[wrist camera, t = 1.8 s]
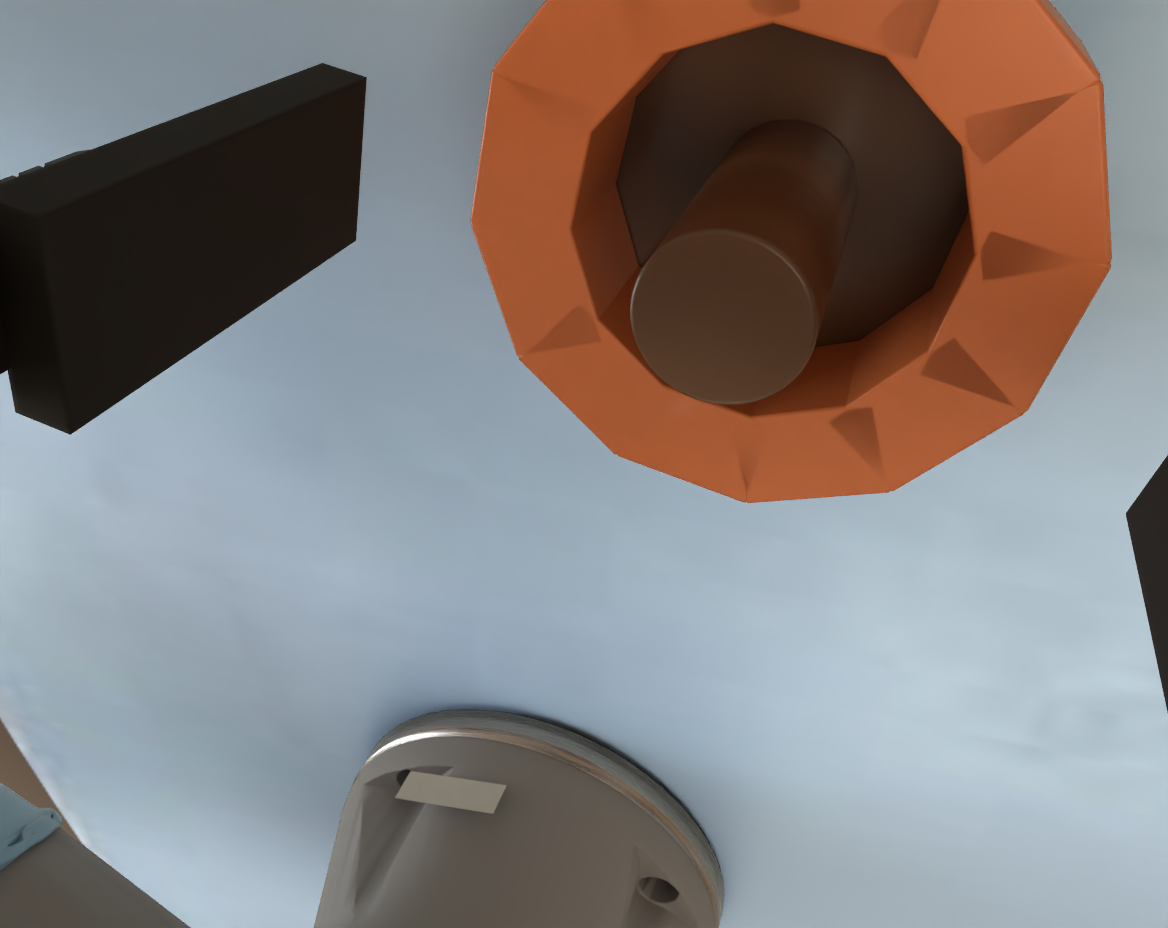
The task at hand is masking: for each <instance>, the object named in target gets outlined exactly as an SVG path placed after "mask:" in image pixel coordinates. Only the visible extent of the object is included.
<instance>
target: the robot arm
mask: <svg viewBox="0 0 1168 928" xmlns="http://www.w3.org/2000/svg"><path fill="white" fill-rule="evenodd" d="M366 78H367V77H364V76H361V75H358V74H355V73H352V72H348V71H345V70H342V69H339V68H336V67H333V66H330V65H327V64H324V63H321V64H319V65H316V66H313V67H311V68H308V69H305V70H303V71H300V72H297V73H295V74H292V75H289V76H287V77H284V78H281V79H279V80H276V81H273V82H271V83H268V84H265V85H263V86H260V87H257V88H255V89H252V90H249V91H247V92H244V93H241V94H239V95H236V96H233V97H231V98H228V99H225V100H223V101H220V102H217V103H215V104H212V105H209V106H207V107H204V108H201V109H199V110H196V111H193V112H191V113H188V114H185V115H183V116H180V117H177V118H175V119H172V120H169V121H167V122H164V123H161V124H159V125H156V126H153V127H151V128H148V129H145V130H143V131H140V132H137V133H135V134H132V135H129V136H127V137H124V138H121V139H119V140H116V141H113V142H111V143H108V144H105V145H103V146H100V147H97V148H95V149H92V150H85V151H78V152H74V153H72V154H69V155H66V156H64V157H61V158H58V159H56V160H53V161H50V162H47V163H45V166H44V168H43V167H41V166H37V167H34V168H31V169H29V170H26V171H23V172H21V173H19V176H18V177H15V176H10V177H7V178H4V179H2V180H0V374H1V373H3V372H5V371H7V370H8V374H9V380H10V385H11V390H12V396H13V401H14V406H15V412H16V413H18V414H21V415H23V416H26V417H28V418H31V419H33V420H36V421H38V422H41V423H43V424H46V425H48V426H50V427H53V428H55V429H58V430H60V431H63V432H65V433H68V434H70V435H71V434H72V433H74V432H75V431H76V430H78V429H79V428H81V427H82V426H84V425H85V424H87V423H88V422H90V421H91V420H93V419H94V418H96V417H97V416H99V415H100V414H101V413H103V412H104V411H106V410H107V409H109V408H110V407H112V406H113V405H115V404H116V403H118V402H119V401H121V400H122V399H124V398H125V397H126V396H128V395H129V394H131V393H132V392H134V391H135V390H137V389H138V388H140V387H141V386H143V385H144V384H146V383H147V382H149V381H150V380H151V379H153V378H154V377H156V376H157V375H159V374H160V373H162V372H163V371H165V370H166V369H168V368H169V367H171V366H172V365H174V364H175V363H176V362H178V361H179V360H181V359H182V358H184V357H185V356H187V355H188V354H190V353H191V352H193V351H194V350H196V349H197V348H199V347H200V346H201V345H203V344H204V343H206V342H207V341H209V340H210V339H212V338H213V337H215V336H216V335H218V334H219V333H221V332H222V331H224V330H225V329H226V328H228V327H229V326H231V325H232V324H234V323H235V322H237V321H238V320H240V319H241V318H243V317H244V316H246V315H247V314H249V313H250V312H251V311H253V310H254V309H256V308H257V307H259V306H260V305H262V304H263V303H265V302H266V301H268V300H269V299H271V298H272V297H274V296H275V295H276V294H278V293H279V292H281V291H282V290H284V289H285V288H287V287H288V286H290V285H291V284H293V283H294V282H296V281H297V280H299V279H300V278H301V277H303V276H304V275H306V274H307V273H309V272H310V271H312V270H313V269H315V268H316V267H318V266H319V265H321V264H322V263H323V262H325V261H326V260H328V259H329V258H331V257H332V256H334V255H335V254H337V253H338V252H340V251H341V250H343V249H344V248H346V247H347V246H348V245H350V244H351V243H353V242H354V241H356V232H357V216H358V201H359V186H360V170H361V155H362V139H363V124H364V109H365V93H366ZM1126 517H1127V522H1128V527H1129V531H1130V536H1131V541H1132V545H1133V550H1134V555H1135V560H1136V564H1137V569H1138V574H1139V579H1140V583H1141V588H1142V593H1143V598H1144V602H1145V607H1146V612H1147V617H1148V621H1149V626H1150V631H1151V635H1152V640H1153V645H1154V650H1155V654H1156V659H1157V664H1158V669H1159V673H1160V678H1161V683H1162V688H1163V692H1164V697H1165V702H1166V707H1167V711H1168V456H1167V457H1166V458H1165V460H1164V461H1163V462H1162V464H1161V465H1160V467H1159V468H1158V469H1157V471H1156V472H1155V474H1154V475H1153V476H1152V478H1151V479H1150V481H1149V482H1148V483H1147V485H1146V486H1145V488H1144V489H1143V490H1142V492H1141V493H1140V495H1139V496H1138V497H1137V499H1136V500H1135V502H1134V503H1133V504H1132V506H1131V507H1130V508H1129V510H1128V511H1127V513H1126ZM62 821H63V819H62V818H61V816H60V815H59V814H58V813H57V812H56V811H55V810H53V809H52V808H49V807H48V808H37V807H35V806H34V805H32V804H31V803H29V802H28V801H26V800H25V799H23V798H22V797H21V796H19V795H18V794H16V793H15V792H13V791H12V790H10V789H9V788H7V787H6V786H5V785H3V784H2V783H0V928H190V927H189V926H188V925H186V924H185V923H184V922H182V921H181V920H180V919H179V918H177V917H176V916H175V915H173V914H172V913H171V912H169V911H168V910H167V909H166V908H164V907H163V906H162V905H160V904H159V903H158V902H156V901H155V900H154V899H153V898H151V897H150V896H149V895H147V894H146V893H145V892H143V891H142V890H141V889H140V888H138V887H137V886H136V885H134V884H133V883H132V882H131V881H129V880H128V879H127V878H125V877H124V876H123V875H121V874H120V873H119V872H118V871H116V870H115V869H114V868H112V867H111V866H110V865H108V864H107V863H106V862H105V861H103V860H102V859H101V858H99V857H98V856H97V855H95V854H94V853H93V852H92V851H90V850H89V849H88V848H86V847H85V846H84V845H82V844H81V843H80V842H79V841H77V840H76V839H75V838H73V837H72V836H71V835H69V834H68V833H67V832H66V831H64V830H63V829H62V828H60V827H59V826H60V825H61V824H62ZM723 903H724V888H723V880H722V876H721V871H720V868H719V865H718V862H717V860H716V857H715V855H714V853H713V851H712V849H711V847H710V845H709V843H708V841H707V839H706V838H705V836H704V835H703V833H702V831H701V830H700V828H699V827H698V826H697V824H696V823H695V822H694V820H693V819H692V818H691V817H690V815H689V814H688V813H687V812H686V811H685V810H684V808H683V807H682V806H681V805H680V804H679V803H678V802H677V801H676V800H675V799H674V798H673V797H672V796H671V795H670V794H669V793H668V792H667V791H666V790H665V789H664V788H662V787H661V786H660V785H659V784H658V783H656V782H655V781H654V780H653V779H652V778H650V777H649V776H648V775H647V774H645V773H644V772H642V771H641V770H640V769H638V768H637V767H635V766H634V765H633V764H631V763H630V762H628V761H627V760H625V759H623V758H622V757H620V756H618V755H617V754H615V753H614V752H612V751H610V750H608V749H606V748H605V747H603V746H601V745H599V744H597V743H595V742H593V741H591V740H589V739H587V738H585V737H582V736H580V735H578V734H576V733H574V732H571V731H568V730H566V729H563V728H561V727H558V726H555V725H552V724H549V723H546V722H543V721H539V720H536V719H533V718H528V717H524V716H520V715H516V714H510V713H504V712H498V711H488V710H448V711H440V712H435V713H429V714H426V715H422V716H419V717H416V718H413V719H411V720H409V721H406V722H404V723H402V724H400V725H399V726H397V727H396V728H394V729H392V730H391V731H390V732H389V733H388V734H386V735H385V736H384V737H383V738H382V739H381V740H380V742H379V743H378V744H377V745H376V747H375V748H374V750H373V751H372V753H371V754H370V756H369V757H368V759H367V761H366V762H365V764H364V765H363V767H362V768H361V770H360V772H359V773H358V775H357V777H356V778H355V780H354V783H353V786H352V788H351V790H350V792H349V794H348V797H347V799H346V801H345V804H344V807H343V811H342V814H341V819H340V823H339V827H338V831H337V835H336V839H335V843H334V847H333V851H332V855H331V859H330V863H329V867H328V872H327V876H326V880H325V884H324V888H323V892H322V896H321V900H320V904H319V908H318V912H317V916H316V921H315V925H314V928H719V924H720V919H721V915H722V910H723Z"/></svg>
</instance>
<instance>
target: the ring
mask: <svg viewBox="0 0 1168 928" xmlns="http://www.w3.org/2000/svg"><path fill="white" fill-rule="evenodd" d="M773 23H774V24H777V25H781V26H784V27H788V28H791V29H794V30H798V31H801V32H804V33H808V34H811V35H814V36H818V37H821V38H825V39H828V40H831V41H835V42H838V43H841V44H845V45H848V46H852V47H855V48H858V49H862V50H865V51H868V52H872V53H875V54H878V55H882V56H885V57H887V58H888V60H889V61H890V62H891V63H892V64H893V66H894V67H895V68H896V69H897V70H898V71H899V73H900V74H901V75H902V76H903V77H904V79H905V80H906V81H907V82H908V83H909V84H910V86H911V87H912V88H913V89H914V90H915V91H916V93H917V94H918V95H919V96H920V97H921V99H922V100H923V101H924V102H925V103H926V104H927V106H928V107H929V108H930V109H931V110H932V112H933V113H934V114H935V115H936V116H937V117H938V119H939V120H940V121H941V122H942V123H943V125H944V126H945V127H946V128H947V129H948V130H949V132H950V133H951V134H952V135H953V136H954V138H955V139H956V140H957V141H958V142H959V143H960V145H961V147H962V156H963V164H964V173H965V181H966V190H967V199H968V207H969V212H968V214H967V216H966V218H965V220H964V222H963V225H962V227H961V229H960V231H959V233H958V235H957V237H956V240H955V242H954V244H953V246H952V248H951V250H950V252H949V255H948V257H947V259H946V261H945V263H944V265H943V267H942V269H941V272H940V274H939V276H938V278H937V280H936V282H935V284H934V287H933V288H932V289H931V290H930V291H928V292H927V293H925V294H924V295H923V296H921V297H920V298H918V299H917V300H916V301H914V302H913V303H911V304H910V305H909V306H907V307H906V308H905V309H903V310H902V311H900V312H899V313H898V314H896V315H895V316H893V317H892V318H891V319H889V320H888V321H886V322H885V323H884V324H882V325H881V326H879V327H878V328H877V329H875V330H874V331H872V332H871V333H870V334H868V335H867V336H865V337H864V338H863V339H861V340H860V341H855V342H848V343H840V344H833V345H826V346H819V347H814V350H813V353H812V355H811V357H810V359H809V361H808V363H807V364H806V366H805V367H804V368H803V370H802V371H801V373H800V374H799V375H798V376H797V377H796V378H795V379H794V380H793V381H792V382H791V383H790V384H788V385H787V386H786V387H785V388H783V389H782V390H780V391H778V392H777V393H775V394H773V395H771V396H769V397H766V398H764V399H761V400H758V401H755V402H751V403H745V404H738V405H721V404H713V403H707V402H704V401H700V400H697V399H694V398H692V397H689V396H687V395H685V394H683V393H681V392H679V391H677V390H676V389H674V388H673V387H671V386H670V385H668V384H667V383H666V382H665V381H663V380H662V379H661V378H660V377H659V376H658V375H657V374H656V373H655V372H654V371H653V369H652V368H651V367H650V366H649V365H648V363H647V362H646V360H645V359H644V357H643V356H642V354H641V352H640V350H639V348H638V346H637V343H636V340H635V337H634V334H633V330H632V325H631V317H630V304H631V297H632V291H633V288H634V285H635V282H636V279H637V277H638V275H639V273H640V271H641V269H642V268H641V267H640V266H639V265H638V262H637V258H636V255H635V251H634V247H633V244H632V240H631V237H630V233H629V230H628V226H627V222H626V219H625V215H624V212H623V208H622V204H621V201H620V197H619V194H618V190H617V187H616V182H617V177H618V173H619V169H620V164H621V160H622V156H623V152H624V147H625V143H626V139H627V135H628V130H629V126H630V122H631V118H632V113H633V109H634V105H635V100H636V97H637V95H638V94H639V93H640V92H641V91H642V90H643V89H644V88H645V87H646V86H647V85H648V84H649V83H650V82H651V80H652V79H653V78H654V77H655V76H656V75H657V74H658V73H659V72H660V71H661V70H662V69H663V68H664V66H665V65H666V64H667V63H668V62H669V61H670V60H671V59H672V58H673V57H674V56H675V55H676V54H677V52H678V51H679V50H681V49H685V48H688V47H692V46H695V45H699V44H702V43H706V42H710V41H713V40H717V39H720V38H724V37H727V36H731V35H734V34H738V33H741V32H745V31H748V30H752V29H756V28H759V27H763V26H766V25H770V24H773ZM471 226H472V229H473V232H474V235H475V238H476V241H477V243H478V246H479V249H480V252H481V255H482V258H483V260H484V263H485V266H486V269H487V272H488V274H489V277H490V280H491V283H492V286H493V289H494V291H495V294H496V297H497V300H498V303H499V306H500V308H501V311H502V314H503V317H504V320H505V323H506V325H507V328H508V331H509V334H510V337H511V340H512V342H513V345H514V348H515V351H516V354H517V356H519V360H520V361H521V362H522V363H523V364H524V365H525V366H526V367H527V368H528V369H529V370H530V371H531V372H532V373H533V374H534V375H536V376H537V377H538V378H539V379H540V380H541V381H542V382H543V383H544V384H545V385H546V386H547V387H548V388H549V389H550V390H551V391H552V392H553V393H554V394H555V395H556V396H557V397H558V398H559V399H560V400H561V401H562V402H563V403H564V404H565V405H566V406H567V407H568V408H569V409H570V410H571V411H572V412H573V413H574V414H575V415H576V416H577V417H578V418H579V419H580V420H581V421H582V422H583V423H584V424H585V425H586V426H587V427H588V428H589V429H590V430H591V431H592V432H593V433H594V434H595V435H596V436H597V437H598V438H599V439H600V440H601V441H602V442H603V443H604V444H605V445H606V446H607V447H608V448H609V449H610V450H611V451H612V452H613V453H614V454H617V455H618V456H620V457H623V458H625V459H628V460H631V461H633V462H636V463H639V464H642V465H644V466H647V467H650V468H652V469H655V470H658V471H660V472H663V473H666V474H669V475H671V476H674V477H677V478H679V479H682V480H685V481H687V482H690V483H693V484H696V485H698V486H701V487H704V488H706V489H709V490H712V491H714V492H717V493H720V494H723V495H725V496H728V497H731V498H733V499H736V500H739V501H741V502H747V503H755V502H768V501H781V500H795V499H808V498H821V497H834V496H847V495H860V494H874V493H887V492H890V491H894V490H896V489H898V488H899V487H901V486H903V485H904V484H906V483H908V482H909V481H911V480H913V479H914V478H916V477H918V476H920V475H921V474H923V473H925V472H926V471H928V470H930V469H931V468H933V467H935V466H936V465H938V464H940V463H942V462H943V461H945V460H947V459H948V458H950V457H952V456H953V455H955V454H957V453H958V452H960V451H962V450H964V449H965V448H967V447H969V446H970V445H972V444H974V443H975V442H977V441H979V440H980V439H982V438H984V437H986V436H987V435H989V434H991V433H992V432H994V431H996V430H997V429H999V428H1001V427H1002V426H1004V425H1006V424H1008V423H1009V422H1011V421H1013V420H1014V419H1016V418H1018V417H1019V416H1021V415H1023V414H1024V413H1025V412H1026V411H1027V410H1028V409H1029V407H1030V406H1031V404H1032V402H1033V400H1034V399H1035V397H1036V395H1037V393H1038V392H1039V390H1040V388H1041V387H1042V385H1043V383H1044V381H1045V380H1046V378H1047V376H1048V375H1049V373H1050V371H1051V369H1052V368H1053V366H1054V364H1055V363H1056V361H1057V359H1058V357H1059V356H1060V354H1061V352H1062V350H1063V349H1064V347H1065V345H1066V344H1067V342H1068V340H1069V338H1070V337H1071V335H1072V333H1073V332H1074V330H1075V328H1076V326H1077V325H1078V323H1079V321H1080V320H1081V318H1082V316H1083V314H1084V313H1085V311H1086V309H1087V308H1088V306H1089V304H1090V302H1091V301H1092V299H1093V297H1094V295H1095V294H1096V292H1097V290H1098V289H1099V287H1100V285H1101V283H1102V282H1103V280H1104V278H1105V277H1106V275H1107V273H1108V271H1109V270H1110V268H1111V264H1110V262H1111V259H1112V252H1111V232H1110V212H1109V192H1108V172H1107V152H1106V133H1105V113H1104V93H1103V83H1102V81H1101V80H1100V74H1099V72H1098V70H1097V68H1096V67H1095V65H1094V63H1093V61H1092V59H1091V57H1090V56H1089V54H1088V52H1087V50H1086V48H1085V47H1084V45H1083V43H1082V41H1081V40H1080V39H1079V37H1078V36H1077V35H1076V34H1075V32H1074V31H1073V30H1072V29H1071V27H1070V26H1069V25H1068V24H1067V22H1066V21H1065V20H1064V19H1063V17H1062V16H1061V15H1060V14H1059V12H1058V11H1057V10H1056V8H1055V7H1054V6H1053V5H1052V3H1051V2H1050V1H1049V0H546V1H545V2H544V4H543V5H542V6H541V7H540V9H539V10H538V11H537V12H536V14H535V15H534V16H533V17H532V19H531V20H530V21H529V23H528V24H527V25H526V26H525V28H524V29H523V30H522V31H521V33H520V34H519V35H518V36H517V38H516V39H515V40H514V41H513V43H512V44H511V45H510V47H509V48H508V49H507V50H506V52H505V53H504V54H503V55H502V57H501V58H500V59H499V60H498V62H497V63H496V64H495V67H494V69H493V71H492V74H491V81H490V88H489V95H488V102H487V109H486V116H485V123H484V129H483V136H482V143H481V150H480V157H479V164H478V171H477V178H476V185H475V192H474V199H473V205H472V212H471Z"/></svg>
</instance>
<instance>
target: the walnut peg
mask: <svg viewBox="0 0 1168 928" xmlns="http://www.w3.org/2000/svg"><path fill="white" fill-rule="evenodd" d="M616 187H617V190H618V194H619V197H620V201H621V204H622V208H623V212H624V215H625V219H626V222H627V226H628V230H629V233H630V237H631V240H632V244H633V247H634V251H635V255H636V258H637V262H638V265H639V266H640V267H641V268H642V269H641V271H640V273H639V275H638V277H637V279H636V282H635V285H634V288H633V291H632V297H631V304H630V317H631V325H632V330H633V334H634V337H635V340H636V343H637V346H638V348H639V350H640V352H641V354H642V356H643V357H644V359H645V360H646V362H647V363H648V365H649V366H650V367H651V368H652V369H653V371H654V372H655V373H656V374H657V375H658V376H659V377H660V378H661V379H662V380H663V381H665V382H666V383H667V384H668V385H670V386H671V387H673V388H674V389H676V390H677V391H679V392H681V393H683V394H685V395H687V396H689V397H692V398H694V399H697V400H700V401H704V402H707V403H713V404H721V405H738V404H745V403H751V402H755V401H758V400H761V399H764V398H766V397H769V396H771V395H773V394H775V393H777V392H778V391H780V390H782V389H783V388H785V387H786V386H787V385H788V384H790V383H791V382H792V381H793V380H794V379H795V378H796V377H797V376H798V375H799V374H800V373H801V371H802V370H803V368H804V367H805V366H806V364H807V363H808V361H809V359H810V357H811V355H812V353H813V350H814V347H819V346H826V345H833V344H840V343H848V342H855V341H860V340H861V339H863V338H864V337H865V336H867V335H868V334H870V333H871V332H872V331H874V330H875V329H877V328H878V327H879V326H881V325H882V324H884V323H885V322H886V321H888V320H889V319H891V318H892V317H893V316H895V315H896V314H898V313H899V312H900V311H902V310H903V309H905V308H906V307H907V306H909V305H910V304H911V303H913V302H914V301H916V300H917V299H918V298H920V297H921V296H923V295H924V294H925V293H927V292H928V291H930V290H931V289H932V288H933V287H934V284H935V282H936V280H937V278H938V276H939V274H940V272H941V269H942V267H943V265H944V263H945V261H946V259H947V257H948V255H949V252H950V250H951V248H952V246H953V244H954V242H955V240H956V237H957V235H958V233H959V231H960V229H961V227H962V225H963V222H964V220H965V218H966V216H967V214H968V212H969V207H968V199H967V190H966V181H965V173H964V164H963V156H962V147H961V145H960V143H959V142H958V141H957V140H956V139H955V138H954V136H953V135H952V134H951V133H950V132H949V130H948V129H947V128H946V127H945V126H944V125H943V123H942V122H941V121H940V120H939V119H938V117H937V116H936V115H935V114H934V113H933V112H932V110H931V109H930V108H929V107H928V106H927V104H926V103H925V102H924V101H923V100H922V99H921V97H920V96H919V95H918V94H917V93H916V91H915V90H914V89H913V88H912V87H911V86H910V84H909V83H908V82H907V81H906V80H905V79H904V77H903V76H902V75H901V74H900V73H899V71H898V70H897V69H896V68H895V67H894V66H893V64H892V63H891V62H890V61H889V60H888V58H887V57H885V56H882V55H878V54H875V53H872V52H868V51H865V50H862V49H858V48H855V47H852V46H848V45H845V44H841V43H838V42H835V41H831V40H828V39H825V38H821V37H818V36H814V35H811V34H808V33H804V32H801V31H798V30H794V29H791V28H788V27H784V26H781V25H777V24H774V23H773V24H770V25H766V26H763V27H759V28H756V29H752V30H748V31H745V32H741V33H738V34H734V35H731V36H727V37H724V38H720V39H717V40H713V41H710V42H706V43H702V44H699V45H695V46H692V47H688V48H685V49H681V50H679V51H678V52H677V54H676V55H675V56H674V57H673V58H672V59H671V60H670V61H669V62H668V63H667V64H666V65H665V66H664V68H663V69H662V70H661V71H660V72H659V73H658V74H657V75H656V76H655V77H654V78H653V79H652V80H651V82H650V83H649V84H648V85H647V86H646V87H645V88H644V89H643V90H642V91H641V92H640V93H639V94H638V95H637V97H636V100H635V105H634V109H633V113H632V118H631V122H630V126H629V130H628V135H627V139H626V143H625V147H624V152H623V156H622V160H621V164H620V169H619V173H618V177H617V182H616Z"/></svg>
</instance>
